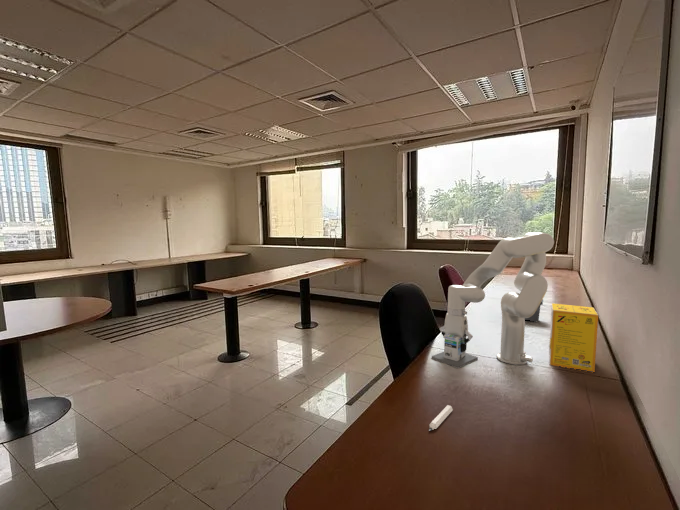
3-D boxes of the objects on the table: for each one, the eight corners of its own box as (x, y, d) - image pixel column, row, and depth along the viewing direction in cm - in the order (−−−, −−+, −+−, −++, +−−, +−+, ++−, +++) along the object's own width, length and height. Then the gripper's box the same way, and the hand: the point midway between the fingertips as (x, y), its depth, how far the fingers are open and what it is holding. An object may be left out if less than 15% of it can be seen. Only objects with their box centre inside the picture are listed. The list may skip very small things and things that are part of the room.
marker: (428, 436, 101) (448, 412, 114) (434, 435, 100) (453, 411, 113) (424, 427, 102) (444, 404, 114) (430, 426, 101) (450, 403, 113)
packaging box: (548, 353, 166) (551, 303, 164) (589, 360, 157) (593, 307, 155) (549, 364, 152) (552, 310, 150) (594, 373, 143) (598, 315, 141)
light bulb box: (457, 361, 152) (458, 338, 151) (443, 358, 156) (444, 335, 155) (465, 355, 160) (466, 332, 159) (451, 351, 165) (452, 329, 164)
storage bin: (505, 319, 226) (506, 298, 225) (507, 314, 240) (507, 294, 238) (542, 324, 216) (543, 302, 214) (542, 318, 229) (543, 297, 228)
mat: (477, 359, 158) (477, 357, 158) (458, 368, 148) (458, 365, 148) (451, 350, 169) (451, 348, 169) (431, 358, 159) (431, 356, 159)
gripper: (478, 314, 152) (476, 352, 153) (444, 307, 166) (443, 342, 167) (468, 317, 147) (467, 356, 149) (435, 309, 161) (434, 345, 162)
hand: (455, 348), depth 158 cm, fingers open, 8 cm apart
